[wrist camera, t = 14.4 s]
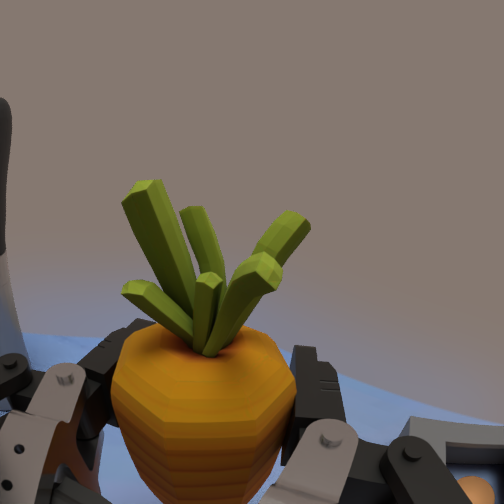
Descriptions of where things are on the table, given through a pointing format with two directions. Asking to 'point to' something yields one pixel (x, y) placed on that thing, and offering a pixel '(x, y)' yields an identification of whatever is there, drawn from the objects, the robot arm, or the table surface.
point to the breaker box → (459, 440)
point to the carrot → (202, 358)
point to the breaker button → (477, 490)
